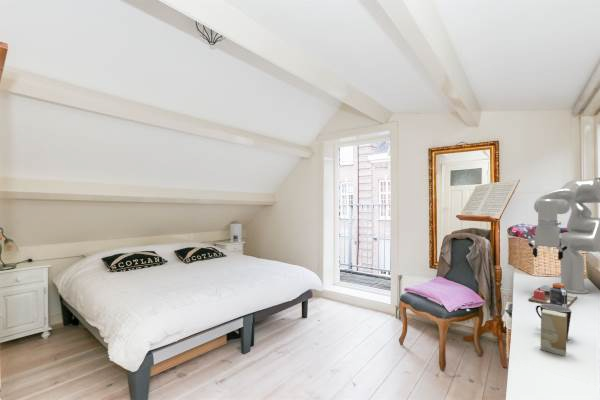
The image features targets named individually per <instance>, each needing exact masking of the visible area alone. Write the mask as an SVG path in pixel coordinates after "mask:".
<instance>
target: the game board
mask: <svg viewBox="0 0 600 400" xmlns="http://www.w3.org/2000/svg"><path fill="white" fill-rule="evenodd" d="M540 288H541V286H540V287H538V288H537V289H535V290H540ZM541 291H544V290H541ZM577 299H578V295H572V294H568V293H567V308H569V309H570V307H571V306H572V305H573V303H574V302H575V301H576V300H577ZM528 302H531V303H536V304H540V305H541V304H550V291H545V299H544V300H540V299H534V295H532V296H531V297H529V298H528Z"/></svg>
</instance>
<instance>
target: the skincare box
mask: <svg viewBox="0 0 600 400" xmlns="http://www.w3.org/2000/svg"><path fill="white" fill-rule="evenodd" d="M540 316H541V318H540V348H539V349H540V350H542V351H545V352H549V353H552V354H556V355H559V356H564V357H565V356H566V354H567V340H568V339H567V314H566V313H560V312H556V311H551V310H546V309H543V310H542V312H541V311H540Z"/></svg>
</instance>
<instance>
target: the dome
mask: <svg viewBox="0 0 600 400" xmlns="http://www.w3.org/2000/svg"><path fill="white" fill-rule="evenodd" d="M540 287H541V288H540V290H544V291H550V288H551V286H550V285H548V284H542V285H541V286H540Z"/></svg>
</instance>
